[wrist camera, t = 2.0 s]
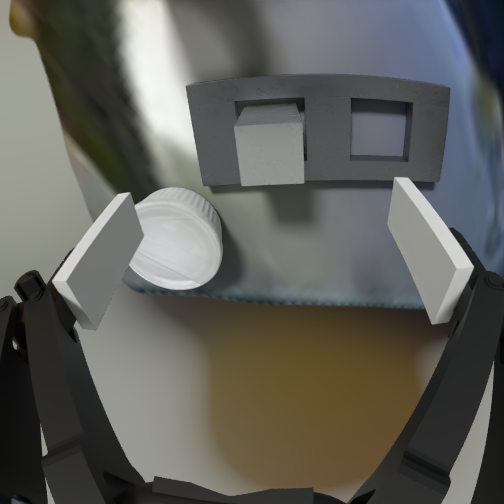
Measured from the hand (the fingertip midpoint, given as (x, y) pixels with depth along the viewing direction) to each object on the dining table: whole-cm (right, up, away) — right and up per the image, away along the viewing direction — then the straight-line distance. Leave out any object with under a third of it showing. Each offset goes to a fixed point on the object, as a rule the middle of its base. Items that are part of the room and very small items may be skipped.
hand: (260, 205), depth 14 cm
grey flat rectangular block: (+6, +9, +11) cm, 16 cm away
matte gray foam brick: (+1, +9, +12) cm, 15 cm away
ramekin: (-8, +1, +20) cm, 21 cm away
